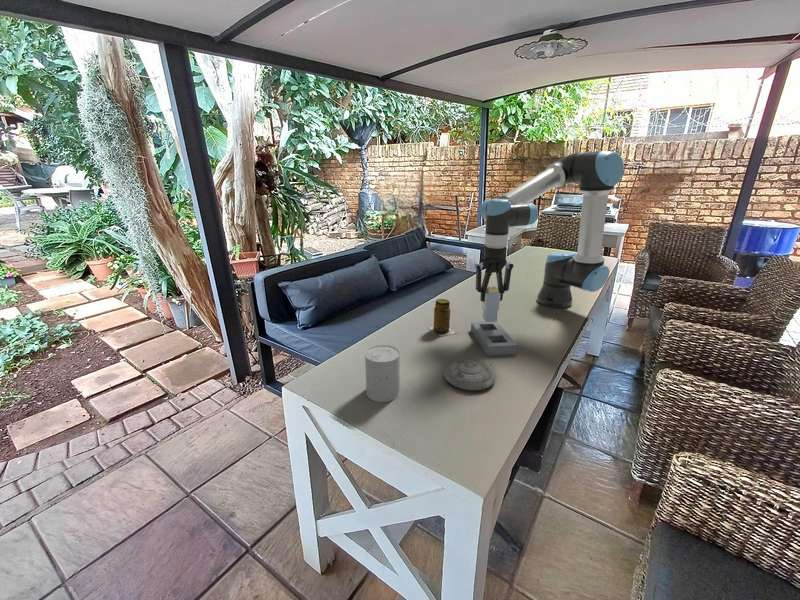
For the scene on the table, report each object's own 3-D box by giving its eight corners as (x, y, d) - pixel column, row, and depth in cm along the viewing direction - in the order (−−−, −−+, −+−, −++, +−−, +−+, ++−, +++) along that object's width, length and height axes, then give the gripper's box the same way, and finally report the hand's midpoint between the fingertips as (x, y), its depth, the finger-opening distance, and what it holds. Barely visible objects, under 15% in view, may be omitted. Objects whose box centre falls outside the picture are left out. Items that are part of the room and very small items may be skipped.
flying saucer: (461, 399, 101) (462, 382, 99) (434, 372, 114) (435, 357, 112) (505, 387, 107) (507, 370, 105) (475, 362, 119) (476, 347, 117)
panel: (495, 329, 143) (496, 321, 141) (516, 354, 124) (517, 345, 123) (470, 330, 142) (471, 322, 141) (487, 355, 123) (488, 346, 122)
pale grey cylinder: (366, 383, 108) (364, 345, 104) (398, 381, 109) (398, 344, 104) (366, 402, 99) (364, 363, 95) (401, 401, 100) (401, 361, 96)
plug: (493, 317, 137) (495, 286, 133) (496, 321, 134) (499, 289, 129) (482, 317, 137) (484, 286, 133) (486, 321, 133) (488, 290, 129)
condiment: (444, 325, 147) (445, 296, 143) (456, 333, 140) (458, 303, 135) (428, 328, 144) (429, 299, 140) (439, 337, 137) (441, 307, 132)
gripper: (515, 242, 130) (509, 304, 138) (468, 244, 128) (464, 306, 137) (524, 247, 123) (517, 311, 131) (474, 249, 121) (470, 314, 130)
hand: (490, 309), depth 134 cm, fingers closed on plug, 4 cm apart
